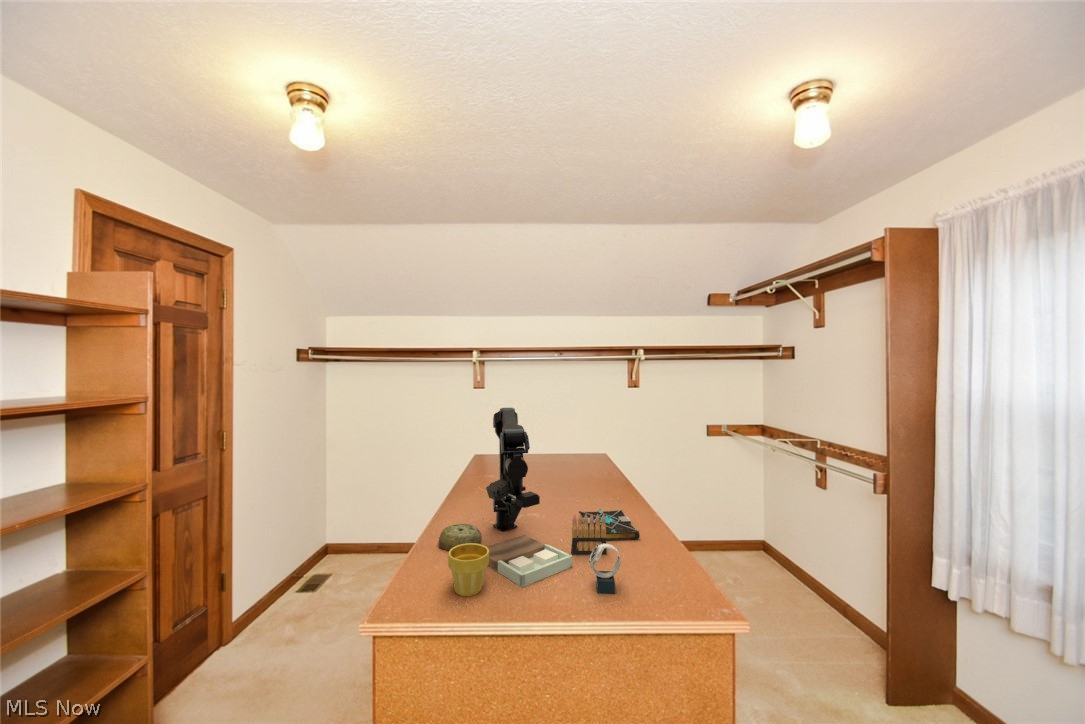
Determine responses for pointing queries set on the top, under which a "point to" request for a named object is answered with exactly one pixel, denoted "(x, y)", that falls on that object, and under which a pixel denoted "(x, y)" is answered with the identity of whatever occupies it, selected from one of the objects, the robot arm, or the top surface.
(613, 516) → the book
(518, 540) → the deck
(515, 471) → the robot arm
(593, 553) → the watch
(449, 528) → the weight
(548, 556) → the tile
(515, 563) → the tile
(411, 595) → the top surface
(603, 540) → the ammunition clip
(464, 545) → the plant pot
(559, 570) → the tray
